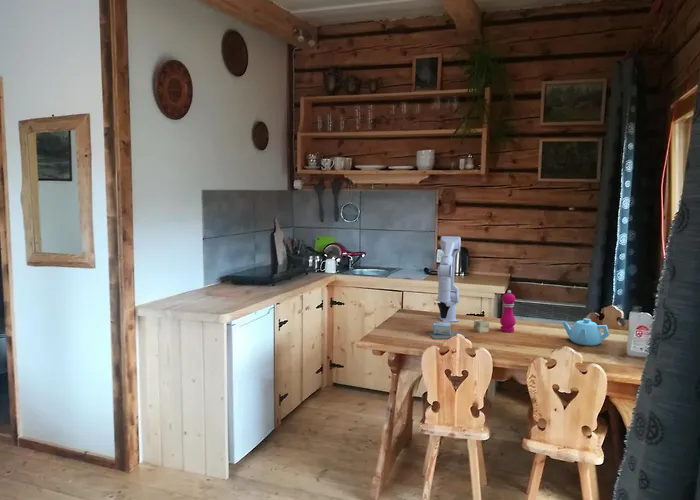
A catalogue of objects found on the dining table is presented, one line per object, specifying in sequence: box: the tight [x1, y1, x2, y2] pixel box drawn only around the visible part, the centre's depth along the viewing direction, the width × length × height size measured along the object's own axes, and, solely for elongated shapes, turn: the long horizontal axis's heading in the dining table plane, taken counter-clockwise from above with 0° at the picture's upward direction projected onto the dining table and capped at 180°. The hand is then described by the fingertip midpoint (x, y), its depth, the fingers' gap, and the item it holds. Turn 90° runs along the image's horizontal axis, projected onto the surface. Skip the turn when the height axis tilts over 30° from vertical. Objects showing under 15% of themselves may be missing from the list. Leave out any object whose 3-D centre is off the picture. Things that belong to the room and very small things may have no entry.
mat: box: [427, 330, 468, 340], centre depth 257 cm, size 10×16×1 cm, turn 98°
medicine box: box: [432, 320, 452, 335], centre depth 260 cm, size 8×4×9 cm
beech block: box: [473, 319, 490, 334], centre depth 265 cm, size 5×5×5 cm
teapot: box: [561, 317, 610, 347], centre depth 247 cm, size 15×15×11 cm
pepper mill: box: [499, 289, 516, 333], centre depth 265 cm, size 7×7×20 cm
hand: (443, 317), depth 262 cm, fingers closed
